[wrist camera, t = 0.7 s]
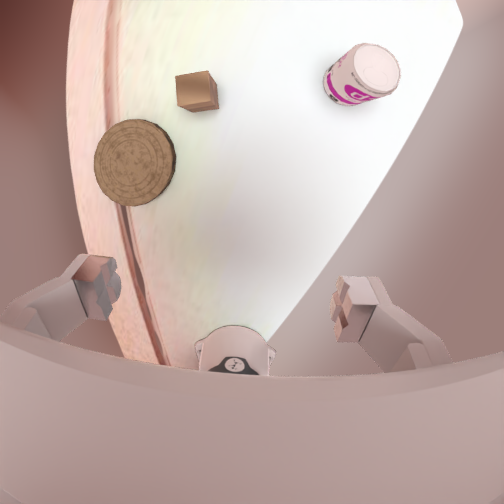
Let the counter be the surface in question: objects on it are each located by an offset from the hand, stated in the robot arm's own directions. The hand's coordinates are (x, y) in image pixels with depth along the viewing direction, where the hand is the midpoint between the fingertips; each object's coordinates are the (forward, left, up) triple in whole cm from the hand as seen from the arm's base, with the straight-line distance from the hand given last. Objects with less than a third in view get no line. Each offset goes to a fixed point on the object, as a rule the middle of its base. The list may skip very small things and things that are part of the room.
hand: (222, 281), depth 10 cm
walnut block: (+12, +9, -41) cm, 43 cm away
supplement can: (+18, -15, -41) cm, 47 cm away
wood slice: (0, +21, -41) cm, 46 cm away
